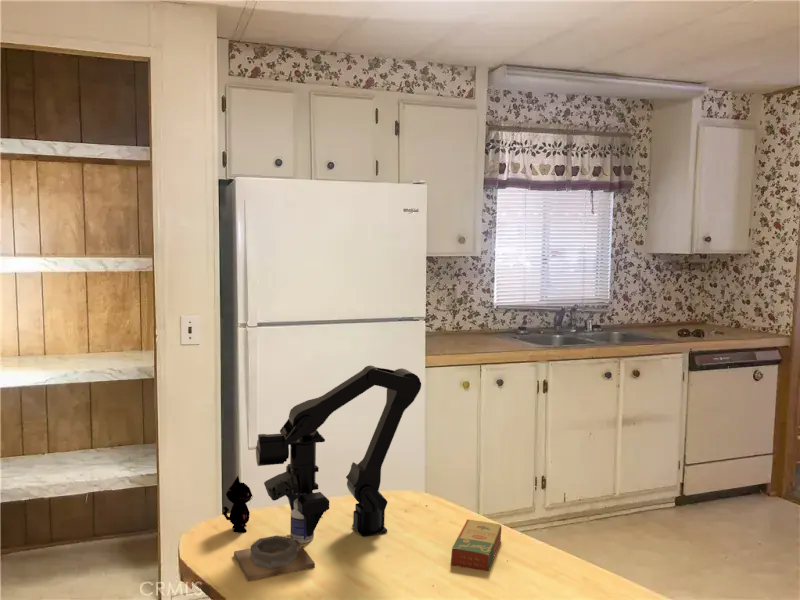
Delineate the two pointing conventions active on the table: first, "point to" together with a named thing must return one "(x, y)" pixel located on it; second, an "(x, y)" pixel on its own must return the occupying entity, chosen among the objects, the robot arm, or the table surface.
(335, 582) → the table surface
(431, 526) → the table surface
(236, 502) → the cat figurine
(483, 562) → the carton
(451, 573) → the table surface
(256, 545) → the collar board
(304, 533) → the pill bottle
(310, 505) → the robot arm
